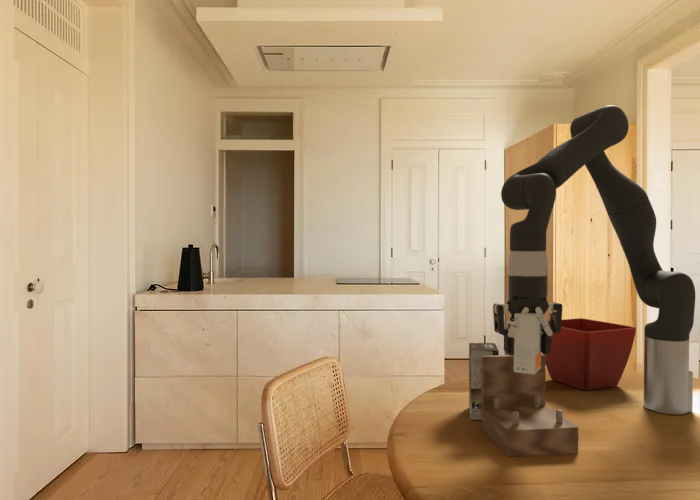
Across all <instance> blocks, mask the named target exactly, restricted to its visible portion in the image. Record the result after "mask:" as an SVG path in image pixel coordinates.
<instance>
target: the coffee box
mask: <svg viewBox="0 0 700 500" xmlns="http://www.w3.org/2000/svg"><path fill="white" fill-rule="evenodd" d="M499 352H500V351H499V349H498V347H497V344H496V343H495V342H469V343H468V408H469V418H470V420H475V421H481V356H490V355H500V353H499Z"/></svg>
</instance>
